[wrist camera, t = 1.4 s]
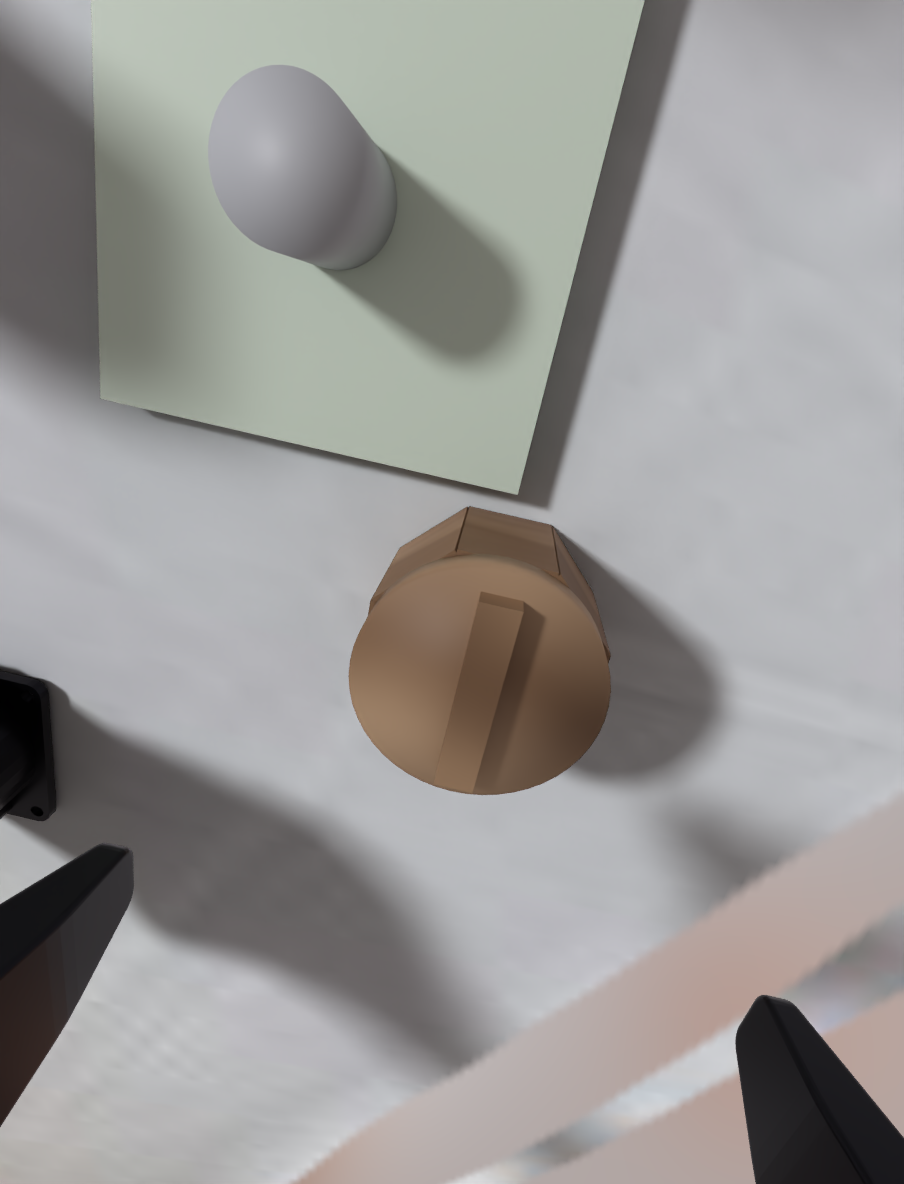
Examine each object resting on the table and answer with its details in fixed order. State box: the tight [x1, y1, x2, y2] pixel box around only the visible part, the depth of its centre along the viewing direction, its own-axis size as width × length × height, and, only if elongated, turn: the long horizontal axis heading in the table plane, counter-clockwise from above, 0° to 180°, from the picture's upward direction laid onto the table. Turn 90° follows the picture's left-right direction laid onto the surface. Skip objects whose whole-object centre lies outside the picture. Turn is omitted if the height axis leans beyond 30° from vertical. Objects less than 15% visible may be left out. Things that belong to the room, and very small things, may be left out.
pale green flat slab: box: [91, 0, 645, 495], centre depth 14 cm, size 12×12×4 cm
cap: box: [349, 506, 611, 795], centre depth 17 cm, size 6×6×6 cm
